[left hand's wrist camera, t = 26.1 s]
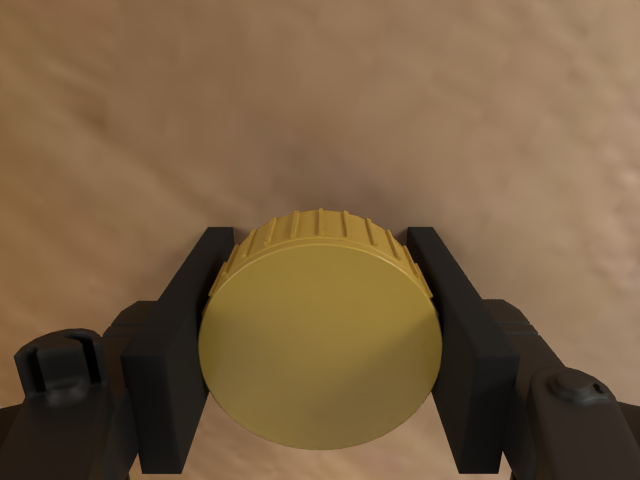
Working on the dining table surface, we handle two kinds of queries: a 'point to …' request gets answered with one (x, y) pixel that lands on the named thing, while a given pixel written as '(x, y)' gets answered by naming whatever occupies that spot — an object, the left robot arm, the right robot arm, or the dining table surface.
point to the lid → (320, 332)
